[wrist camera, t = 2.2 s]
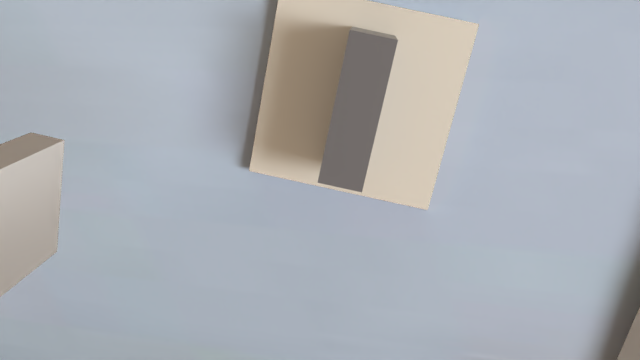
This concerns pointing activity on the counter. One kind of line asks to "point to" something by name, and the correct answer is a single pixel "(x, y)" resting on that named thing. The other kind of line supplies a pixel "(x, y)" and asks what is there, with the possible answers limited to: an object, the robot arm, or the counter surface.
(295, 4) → the cover
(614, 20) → the counter surface
